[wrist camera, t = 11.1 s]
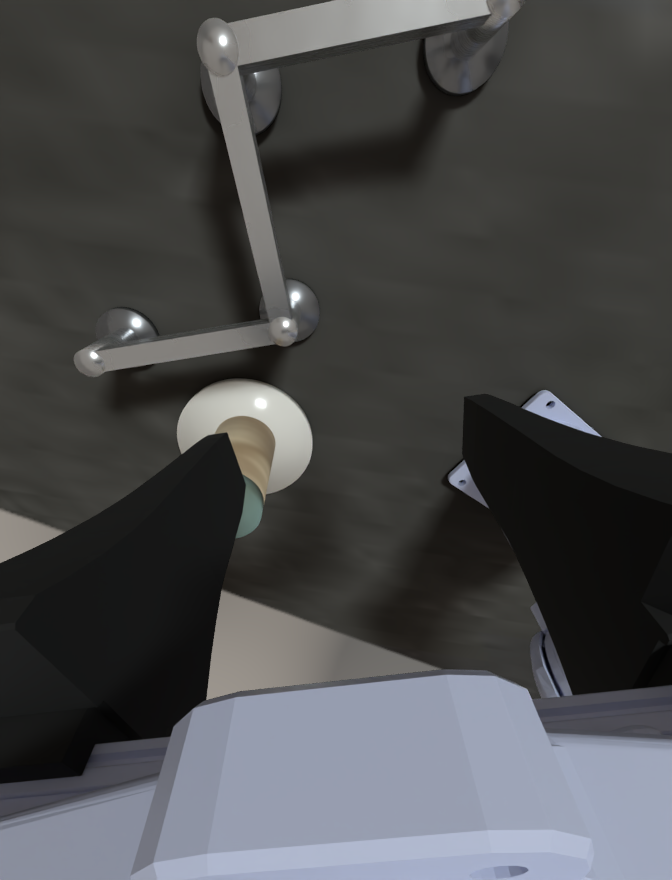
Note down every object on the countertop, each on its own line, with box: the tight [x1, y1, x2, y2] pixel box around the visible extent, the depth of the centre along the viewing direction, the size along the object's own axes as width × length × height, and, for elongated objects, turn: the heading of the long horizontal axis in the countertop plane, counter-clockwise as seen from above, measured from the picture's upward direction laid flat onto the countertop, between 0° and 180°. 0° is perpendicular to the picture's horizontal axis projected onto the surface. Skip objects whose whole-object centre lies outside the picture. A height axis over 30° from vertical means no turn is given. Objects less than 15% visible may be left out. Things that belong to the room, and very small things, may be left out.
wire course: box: [74, 0, 525, 377], centre depth 15 cm, size 9×21×4 cm, turn 144°
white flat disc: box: [177, 378, 312, 494], centre depth 22 cm, size 8×8×1 cm
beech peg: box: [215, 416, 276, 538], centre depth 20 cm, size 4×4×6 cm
